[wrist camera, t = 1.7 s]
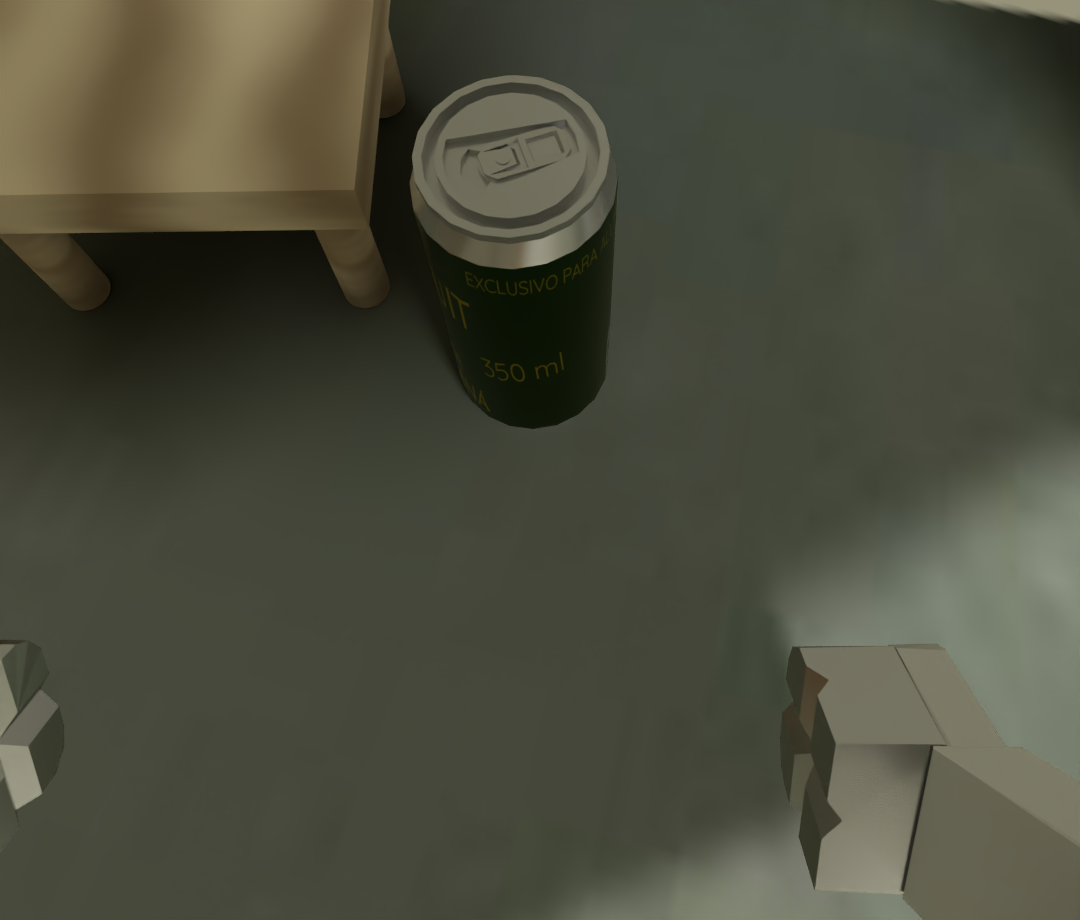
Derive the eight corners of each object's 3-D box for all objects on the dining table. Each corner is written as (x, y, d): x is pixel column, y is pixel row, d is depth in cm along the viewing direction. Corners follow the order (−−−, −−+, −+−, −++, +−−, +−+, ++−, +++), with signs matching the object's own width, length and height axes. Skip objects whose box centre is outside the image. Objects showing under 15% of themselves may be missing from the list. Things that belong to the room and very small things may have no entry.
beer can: (579, 287, 35) (577, 44, 24) (628, 410, 33) (651, 207, 22) (444, 330, 35) (378, 102, 24) (486, 456, 33) (436, 273, 22)
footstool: (422, 71, 39) (384, -102, 32) (402, 321, 35) (354, 189, 28) (99, 78, 40) (-13, -90, 33) (42, 325, 36) (-101, 196, 28)
